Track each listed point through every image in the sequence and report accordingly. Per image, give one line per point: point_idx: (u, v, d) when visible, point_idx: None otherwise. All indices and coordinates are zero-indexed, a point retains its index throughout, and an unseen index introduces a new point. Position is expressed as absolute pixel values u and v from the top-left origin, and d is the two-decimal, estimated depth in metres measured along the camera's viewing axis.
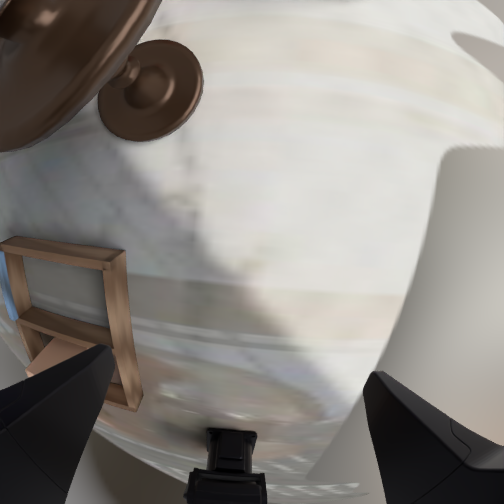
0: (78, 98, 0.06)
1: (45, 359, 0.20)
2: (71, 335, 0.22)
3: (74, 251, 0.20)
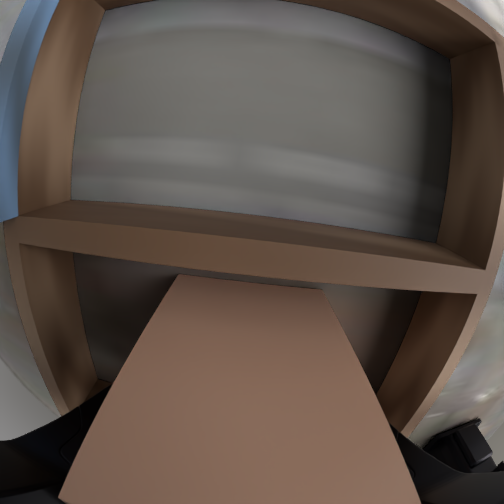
0: None
1: (181, 400, 0.04)
2: None
3: None
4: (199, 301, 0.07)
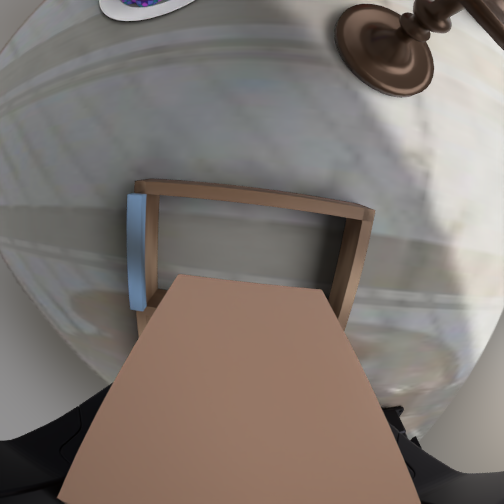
0: None
1: (181, 401, 0.04)
2: None
3: (307, 196, 0.17)
4: (199, 301, 0.07)
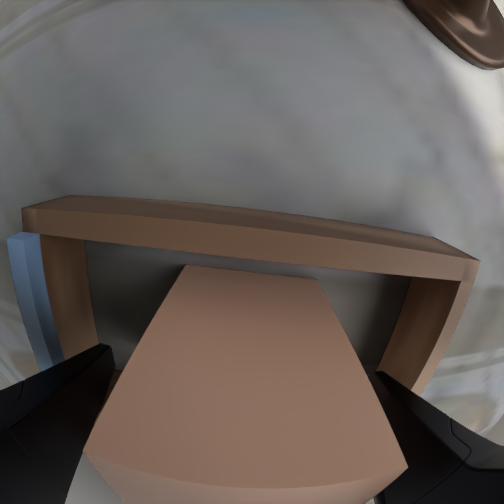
0: None
1: (193, 365, 0.05)
2: None
3: (367, 234, 0.08)
4: (206, 287, 0.08)
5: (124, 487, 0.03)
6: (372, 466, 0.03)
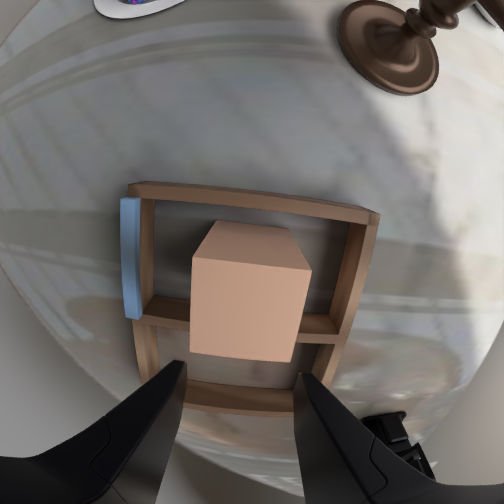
0: None
1: (229, 243, 0.14)
2: None
3: (309, 200, 0.16)
4: (229, 227, 0.17)
5: (200, 284, 0.11)
6: (296, 267, 0.11)
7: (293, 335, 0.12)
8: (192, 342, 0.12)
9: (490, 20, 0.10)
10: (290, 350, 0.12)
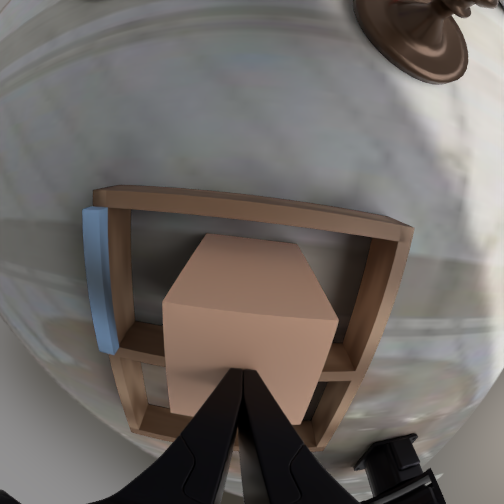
0: None
1: (219, 273, 0.10)
2: None
3: (326, 209, 0.12)
4: (222, 243, 0.13)
5: (176, 338, 0.07)
6: (316, 315, 0.07)
7: (306, 397, 0.08)
8: (172, 403, 0.08)
9: None
10: (301, 413, 0.09)
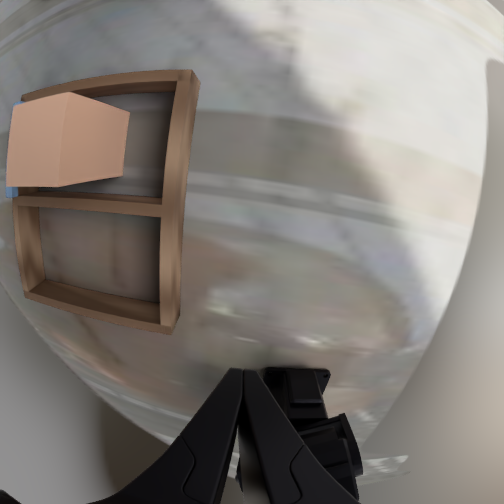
0: None
1: None
2: (93, 199, 0.16)
3: None
4: None
5: (14, 123, 0.09)
6: None
7: (57, 153, 0.10)
8: (7, 176, 0.10)
9: None
10: (57, 172, 0.11)
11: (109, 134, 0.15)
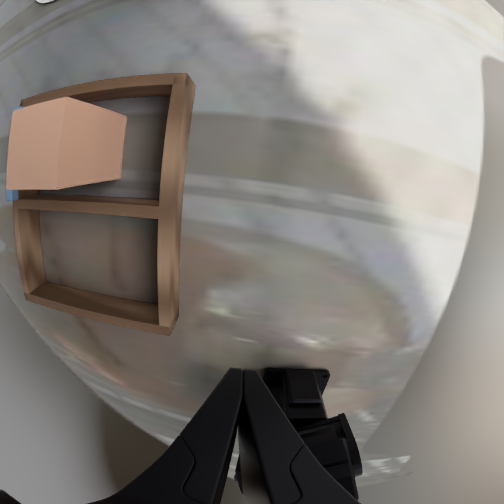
0: None
1: None
2: (92, 202, 0.16)
3: None
4: None
5: (13, 128, 0.10)
6: None
7: (56, 157, 0.11)
8: (7, 179, 0.11)
9: None
10: (55, 175, 0.11)
11: (106, 138, 0.15)
